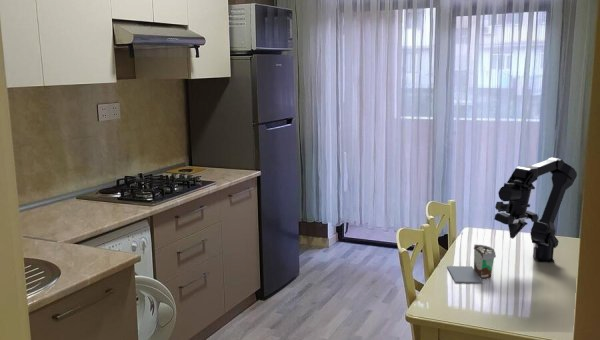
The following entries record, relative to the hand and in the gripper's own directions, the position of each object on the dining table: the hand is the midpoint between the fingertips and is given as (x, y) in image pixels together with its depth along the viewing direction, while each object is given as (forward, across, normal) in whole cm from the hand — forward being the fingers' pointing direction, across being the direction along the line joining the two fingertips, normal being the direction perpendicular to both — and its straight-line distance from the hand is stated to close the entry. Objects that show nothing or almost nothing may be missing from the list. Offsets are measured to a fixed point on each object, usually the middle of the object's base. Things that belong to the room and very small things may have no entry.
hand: (511, 238), depth 220 cm
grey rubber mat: (+14, +22, -1) cm, 25 cm away
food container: (+13, +14, +3) cm, 19 cm away
